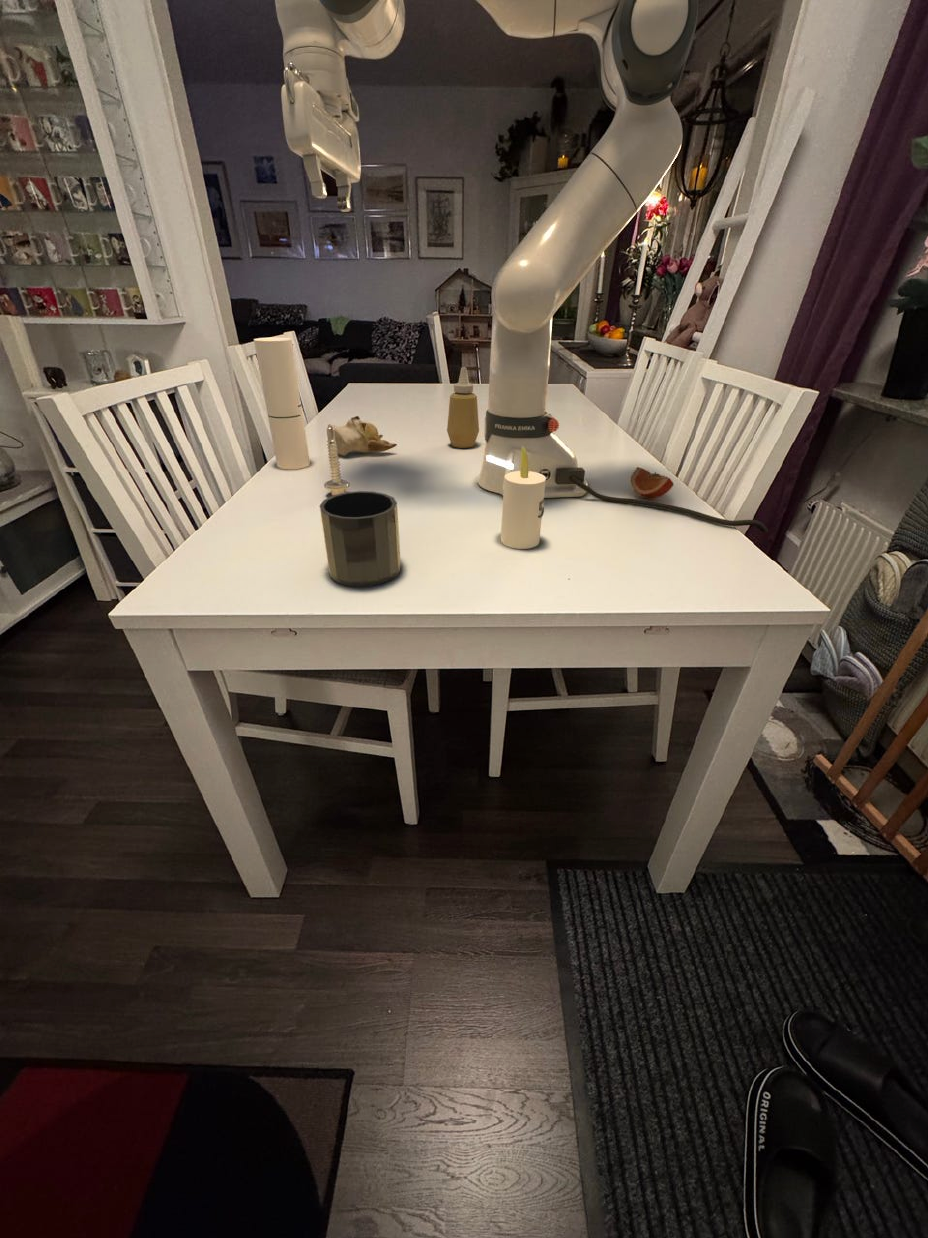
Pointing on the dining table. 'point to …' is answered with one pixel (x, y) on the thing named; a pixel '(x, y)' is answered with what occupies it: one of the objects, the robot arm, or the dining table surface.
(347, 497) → the holder
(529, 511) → the candle
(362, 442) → the ceramic sculpture
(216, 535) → the dining table surface
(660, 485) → the fruit slice
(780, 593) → the dining table surface
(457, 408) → the squeeze bottle
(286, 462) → the cylindrical container
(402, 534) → the dining table surface
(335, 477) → the screw
